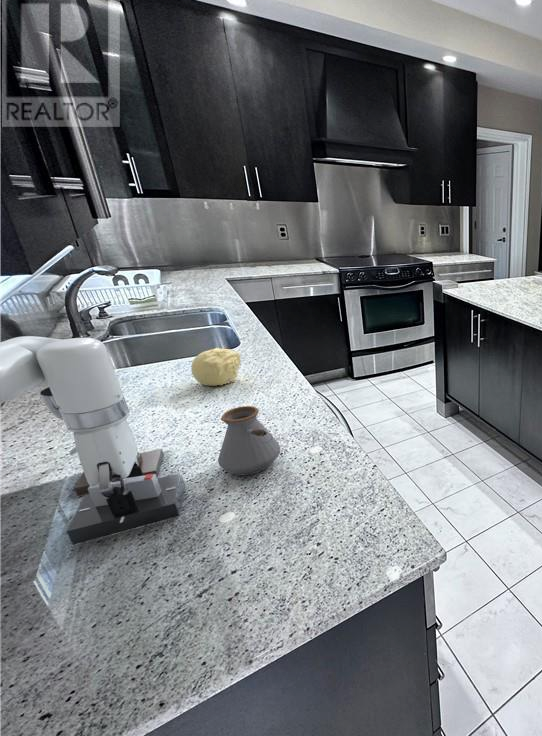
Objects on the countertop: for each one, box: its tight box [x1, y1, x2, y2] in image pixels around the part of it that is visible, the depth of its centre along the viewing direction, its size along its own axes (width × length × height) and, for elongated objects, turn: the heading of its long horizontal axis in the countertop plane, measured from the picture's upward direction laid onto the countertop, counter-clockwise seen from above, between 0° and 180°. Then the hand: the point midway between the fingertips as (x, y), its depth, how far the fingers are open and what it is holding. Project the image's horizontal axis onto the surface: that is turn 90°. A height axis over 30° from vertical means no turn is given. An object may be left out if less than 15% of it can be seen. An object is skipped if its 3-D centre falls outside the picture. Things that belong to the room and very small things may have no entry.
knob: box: [88, 474, 162, 507], centre depth 72 cm, size 9×2×4 cm, turn 111°
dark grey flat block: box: [66, 472, 186, 546], centre depth 74 cm, size 14×13×3 cm
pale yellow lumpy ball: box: [190, 347, 242, 387], centre depth 124 cm, size 11×12×11 cm
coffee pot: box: [217, 405, 281, 476], centre depth 83 cm, size 21×12×15 cm, turn 47°
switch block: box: [74, 448, 165, 496], centre depth 83 cm, size 12×9×4 cm
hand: (130, 498), depth 73 cm, fingers open, 7 cm apart
